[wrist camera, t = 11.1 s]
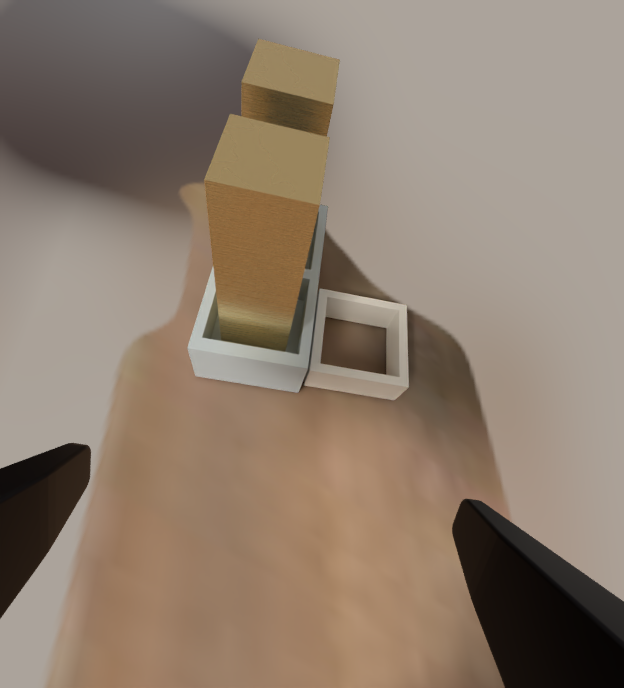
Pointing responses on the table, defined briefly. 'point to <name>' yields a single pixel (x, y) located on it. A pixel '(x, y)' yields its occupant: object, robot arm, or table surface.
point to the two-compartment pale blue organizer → (257, 362)
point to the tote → (369, 314)
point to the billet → (262, 226)
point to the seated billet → (290, 87)
